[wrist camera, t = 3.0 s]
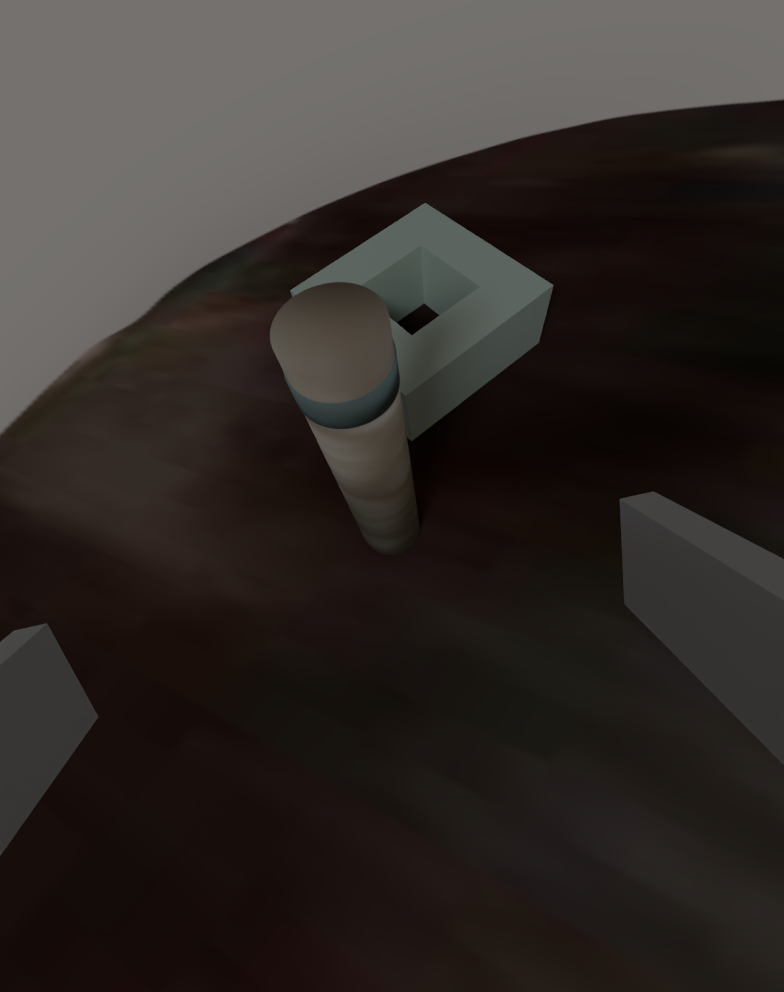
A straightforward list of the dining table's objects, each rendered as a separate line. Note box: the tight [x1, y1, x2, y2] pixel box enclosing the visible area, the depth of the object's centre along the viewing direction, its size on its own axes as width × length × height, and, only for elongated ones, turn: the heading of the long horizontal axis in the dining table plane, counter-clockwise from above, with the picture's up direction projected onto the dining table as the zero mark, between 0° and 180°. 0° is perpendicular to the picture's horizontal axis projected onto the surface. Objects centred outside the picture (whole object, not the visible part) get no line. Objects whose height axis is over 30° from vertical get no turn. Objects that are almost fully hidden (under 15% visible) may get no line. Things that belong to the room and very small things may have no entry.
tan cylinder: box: [270, 282, 420, 555], centre depth 19 cm, size 3×3×15 cm
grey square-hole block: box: [290, 203, 553, 441], centre depth 29 cm, size 11×11×4 cm
